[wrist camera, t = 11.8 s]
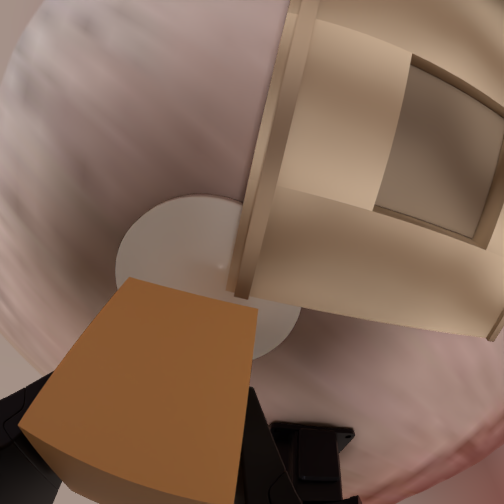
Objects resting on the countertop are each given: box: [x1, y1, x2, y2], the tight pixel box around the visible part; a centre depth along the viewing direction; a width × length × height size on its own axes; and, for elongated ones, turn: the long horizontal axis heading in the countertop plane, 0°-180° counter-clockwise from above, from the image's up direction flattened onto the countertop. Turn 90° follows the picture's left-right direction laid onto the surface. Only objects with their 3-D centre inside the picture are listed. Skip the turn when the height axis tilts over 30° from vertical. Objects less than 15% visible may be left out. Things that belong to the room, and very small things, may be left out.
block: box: [18, 277, 258, 504], centre depth 8 cm, size 4×4×6 cm
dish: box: [115, 194, 301, 360], centre depth 14 cm, size 9×9×1 cm
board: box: [225, 0, 504, 342], centre depth 8 cm, size 27×16×2 cm, turn 168°
